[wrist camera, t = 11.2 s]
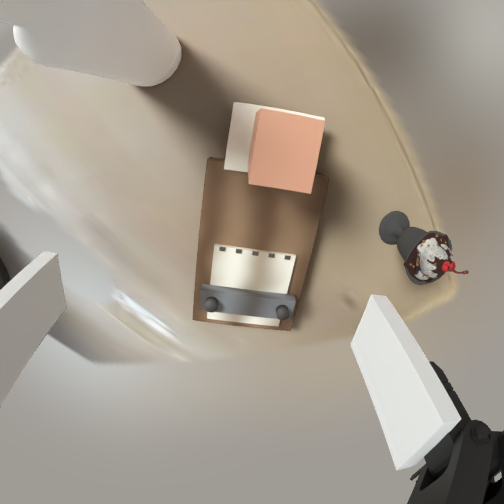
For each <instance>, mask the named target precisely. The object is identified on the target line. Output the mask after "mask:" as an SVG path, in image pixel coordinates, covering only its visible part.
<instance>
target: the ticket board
mask: <svg viewBox="0 0 504 504" xmlns="http://www.w3.org/2000/svg"><path fill="white" fill-rule="evenodd" d="M224 164H225V159H221V158H213V157H209V159H208V160H207V166H206V174H205V183H204V192H203V201H202V210H201V220H200V230H199V241H198V252H197V264H196V277H195V291H194V306H193V320H196V321H203V322H211V323H219V324H227V325H235V326H244V327H254V328H264V329H274V330H286V331H290V330H291V327H292V323H293V320H294V316H295V313H296V309H297V306H298V302H299V298H300V295H301V291H302V287H303V284H304V280H305V276H306V272H307V269H308V265H309V261H310V257H311V253H312V249H313V245H314V241H315V237H316V233H317V229H318V225H319V221H320V216H321V212H322V208H323V203H324V199H325V195H326V190H327V186H328V181H329V179H328V178H327V177H326V176H324V175H321V174H316V173H315V176H314V181H313V186H312V191H311V194H308V193H303V192H297V191H291V190H285V189H279V188H272V187H266V186H259V185H252V184H249V182H248V172H241V171H234V170H226V169H224Z"/></svg>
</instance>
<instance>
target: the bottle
mask: <svg viewBox="0 0 504 504" xmlns="http://www.w3.org/2000/svg"><path fill="white" fill-rule="evenodd" d="M0 23H5V24H9V25H13V26H14V29H13V33H14V38H15V42H16V44H17V45H18V46H19V48H20V49H21V50H22V51H23V52H24V53H25V54H26V55H27V56H28V57H29V58H30V59H31V60H33V61H34V62H35V63H37V64H41V65H44V66H47V67H53V68H59V69H65V70H71V71H76V72H81V73H86V74H91V75H96V76H101V77H105V78H109V79H114V80H118V81H122V82H126V83H129V84H131V85H134V86H154V85H157V84H160V83H162V82H164V81H165V80H167V79H168V78H169V77H171V76H172V74H173V73H174V72H175V71H176V69H177V68H178V66H179V63H180V60H181V46H180V43H179V41H178V39H177V38H176V35H175V34H174V33H173V32H172V31H171V30H169V29H168V28H167V27H166V26H165V24H164V23H163V22H162V21H161V20H160V19H159V18H158V17H157V16H156V15H155V14H154V13H153V11H152V10H151V9H150V8H149V7H148V6H147V5H146V4H145V3H144V2H143V1H142V0H0Z"/></svg>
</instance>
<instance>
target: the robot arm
mask: <svg viewBox="0 0 504 504" xmlns="http://www.w3.org/2000/svg"><path fill="white" fill-rule="evenodd" d="M66 308H67V306H66V301H65V296H64V291H63V285H62V280H61V273H60V267H59V260H58V254H57V253H53V252H47V251H44V252H43V253H41V254H40V255H39V256H38V257H36V258H35V259H34V260H33V261H32V262H31V263H30V264H28V265H27V266H26V267H25V268H24V269H23V270H22V271H20V272H19V273H18V274H17V275H16V276H15V277H14V278H13V279H12V280H11V281H10V278H9V275H8V273H7V271H6V269H5V267H4V265H3V263H2V261H1V260H0V406H1V405H2V403H3V401H4V400H5V398H6V396H7V394H8V393H9V391H10V389H11V388H12V386H13V385H14V383H15V381H16V380H17V378H18V377H19V375H20V373H21V372H22V370H23V369H24V367H25V366H26V364H27V362H28V361H29V360H30V358H31V357H32V355H33V354H34V352H35V351H36V349H37V348H38V346H39V345H40V343H41V342H42V340H43V339H44V337H45V336H46V335H47V333H48V332H49V331H50V329H51V328H52V326H53V325H54V324H55V322H56V321H57V320H58V318H59V317H60V316H61V314H62V313H63V312H64V310H65V309H66ZM350 345H351V348H352V350H353V353H354V355H355V358H356V360H357V363H358V365H359V368H360V370H361V373H362V375H363V378H364V381H365V383H366V386H367V389H368V391H369V394H370V396H371V399H372V402H373V405H374V407H375V410H376V413H377V415H378V418H379V421H380V424H381V427H382V429H383V432H384V435H385V438H386V441H387V444H388V447H389V449H390V453H391V456H392V459H393V462H394V465H395V468H396V470H400V469H404V468H408V467H412V466H415V465H416V464H417V463H418V462H419V461H420V460H421V459H423V458H425V461H426V464H425V465H424V466H423V467H422V468H421V469H419V470H418V471H417V472H416V473H415V474H413V475H412V477H411V478H410V480H413V479H414V478H416V477H417V476H418V475H419V474H420V475H419V477H418V480H417V481H416V485H415V487H414V489H413V492H412V494H411V496H410V499H409V501H408V503H407V504H504V431H503V432H498V431H491V430H490V428H489V427H488V426H487V425H486V424H485V423H483V422H482V421H478V420H471V419H470V417H469V416H468V413H467V412H466V410H465V408H464V406H463V405H462V403H461V401H460V399H459V398H458V396H457V394H456V392H455V391H453V387H452V386H451V384H450V383H448V379H447V377H446V376H445V374H444V372H443V371H442V370H441V369H440V368H439V367H438V366H437V365H436V364H435V363H434V362H429V361H428V359H427V358H426V356H425V355H424V353H423V351H422V350H421V348H420V346H419V345H418V343H417V342H416V340H415V339H414V337H413V335H412V334H411V332H410V331H409V329H408V328H407V326H406V325H405V323H404V322H403V320H402V319H401V317H400V316H399V314H398V313H397V311H396V310H395V308H394V307H393V305H392V304H391V302H390V301H389V299H388V298H387V296H381V295H371V296H370V299H369V301H368V304H367V306H366V309H365V311H364V314H363V316H362V319H361V321H360V323H359V326H358V328H357V331H356V333H355V335H354V338H353V340H352V342H351V344H350ZM499 472H501V473H502V478H501V479H500V480H498V481H497V482H495V481H494V476H496V475H497V474H498V473H499Z"/></svg>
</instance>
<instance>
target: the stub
mask: <svg viewBox="0 0 504 504" xmlns="http://www.w3.org/2000/svg"><path fill="white" fill-rule="evenodd" d="M324 125H325V118H322V117H318V116H313V115H309V114H304V113H299V112H294V111H289V110H284V109H278V108H272V107H266V106H260V105H254V104H247V103H239V102H234V104H233V110H232V117H231V123H230V130H229V136H228V143H227V150H226V157H225V164H224V169H226V170H234V171H241V172H248V182H249V184H252V185H259V186H266V187H272V188H279V189H285V190H291V191H297V192H303V193H308V194H311V191H312V186H313V181H314V176H315V171H316V167H317V162H318V156H319V151H320V146H321V141H322V136H323V130H324Z"/></svg>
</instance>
